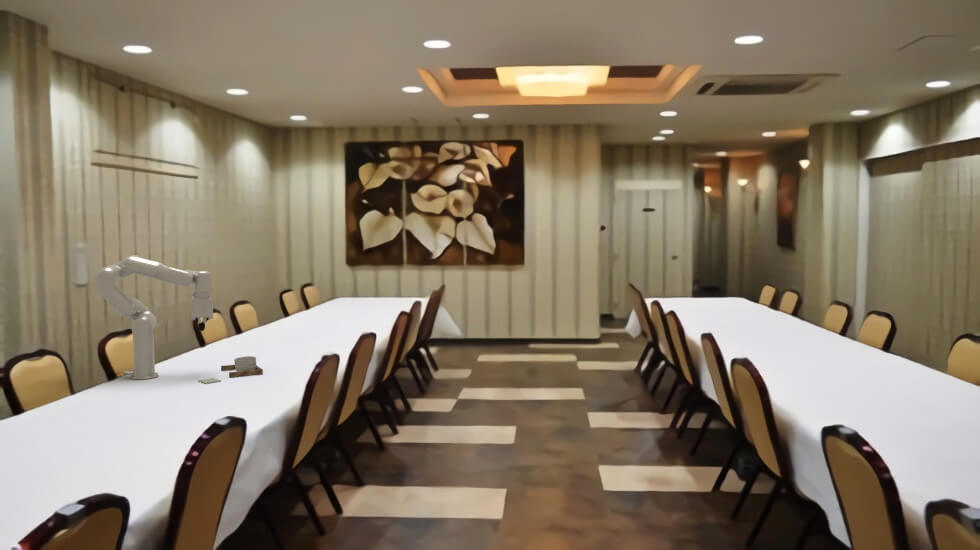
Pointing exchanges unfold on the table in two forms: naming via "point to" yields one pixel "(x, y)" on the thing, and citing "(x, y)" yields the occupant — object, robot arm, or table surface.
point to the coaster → (209, 381)
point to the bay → (241, 373)
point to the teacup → (245, 363)
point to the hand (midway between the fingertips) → (201, 330)
